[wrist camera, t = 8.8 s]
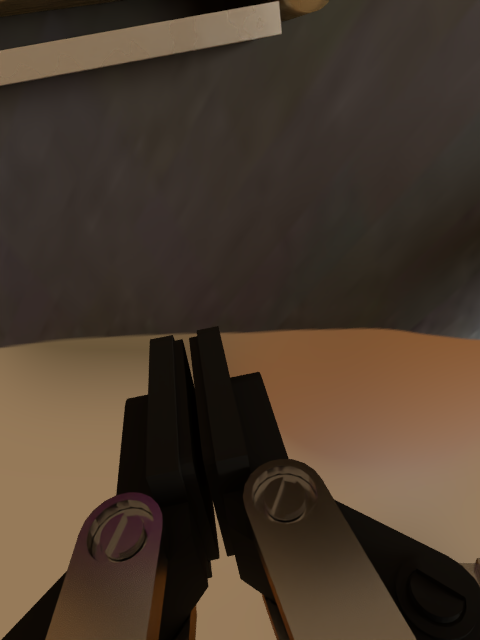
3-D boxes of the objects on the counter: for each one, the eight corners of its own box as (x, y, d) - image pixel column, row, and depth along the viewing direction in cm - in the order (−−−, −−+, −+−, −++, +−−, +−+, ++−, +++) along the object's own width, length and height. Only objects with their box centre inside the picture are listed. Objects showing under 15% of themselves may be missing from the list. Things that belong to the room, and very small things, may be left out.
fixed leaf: (303, -55, 21) (337, -82, 17) (305, 17, 23) (337, 8, 19) (-57, -8, 20) (-111, -26, 16) (-28, 65, 22) (-70, 66, 17)
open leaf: (257, 11, 22) (278, 0, 18) (260, 38, 23) (281, 33, 19) (-30, 63, 21) (-70, 63, 17) (-19, 89, 22) (-55, 95, 18)
